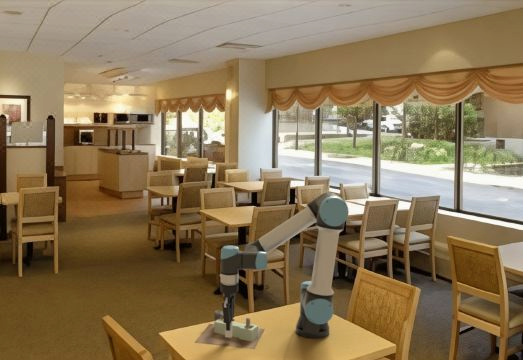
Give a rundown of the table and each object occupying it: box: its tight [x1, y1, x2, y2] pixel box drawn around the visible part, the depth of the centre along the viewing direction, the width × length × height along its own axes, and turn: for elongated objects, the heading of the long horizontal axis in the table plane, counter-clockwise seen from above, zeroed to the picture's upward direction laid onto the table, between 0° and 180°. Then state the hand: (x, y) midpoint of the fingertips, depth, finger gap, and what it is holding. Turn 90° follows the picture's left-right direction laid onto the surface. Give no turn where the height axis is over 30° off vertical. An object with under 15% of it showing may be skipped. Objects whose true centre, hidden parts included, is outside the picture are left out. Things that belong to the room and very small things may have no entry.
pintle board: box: [194, 309, 266, 350], centre depth 234 cm, size 26×22×10 cm
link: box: [213, 318, 259, 341], centre depth 235 cm, size 19×6×5 cm, turn 65°
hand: (228, 336), depth 228 cm, fingers closed
